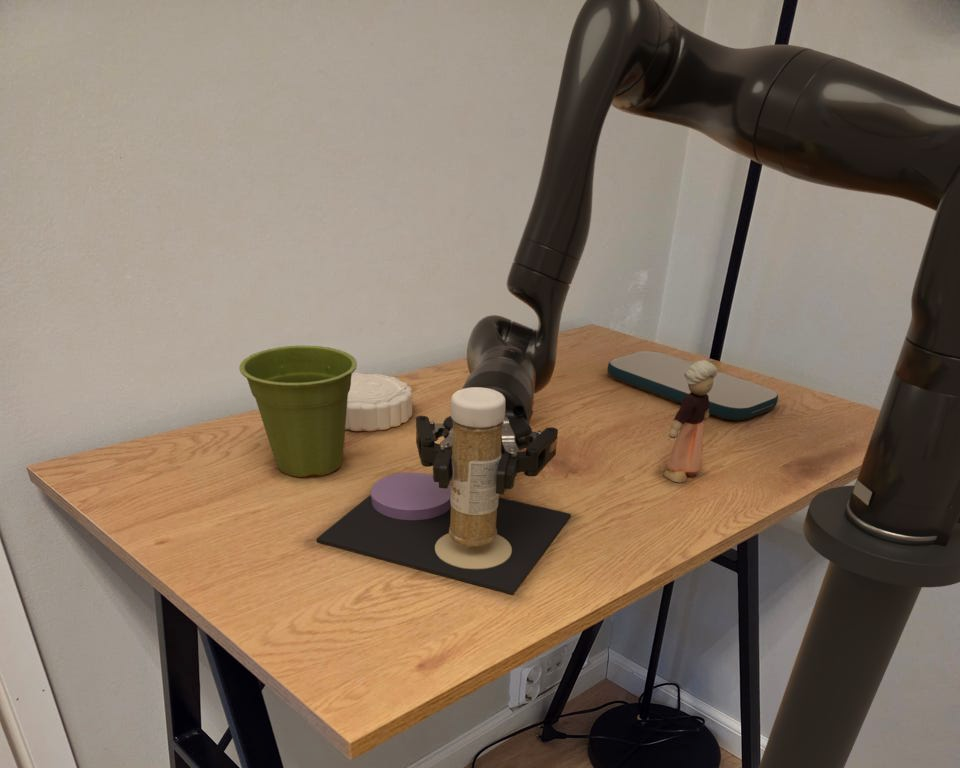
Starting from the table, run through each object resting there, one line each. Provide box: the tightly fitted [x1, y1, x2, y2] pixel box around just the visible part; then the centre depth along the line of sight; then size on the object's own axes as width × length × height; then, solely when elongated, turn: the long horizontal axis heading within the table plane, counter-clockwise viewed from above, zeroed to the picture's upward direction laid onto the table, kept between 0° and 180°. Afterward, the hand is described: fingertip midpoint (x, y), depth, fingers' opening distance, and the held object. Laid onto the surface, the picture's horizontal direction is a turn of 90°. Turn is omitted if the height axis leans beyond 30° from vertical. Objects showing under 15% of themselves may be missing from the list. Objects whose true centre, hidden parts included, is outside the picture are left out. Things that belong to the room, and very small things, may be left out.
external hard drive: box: [607, 350, 779, 421], centre depth 113 cm, size 24×12×2 cm, turn 42°
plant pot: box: [239, 345, 358, 478], centre depth 87 cm, size 12×12×11 cm
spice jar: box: [449, 387, 505, 546], centre depth 72 cm, size 5×5×14 cm
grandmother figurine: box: [663, 359, 718, 484], centre depth 89 cm, size 8×4×13 cm, turn 151°
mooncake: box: [345, 372, 413, 433], centre depth 102 cm, size 12×12×4 cm
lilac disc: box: [370, 472, 451, 520], centre depth 83 cm, size 8×8×1 cm
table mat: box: [315, 494, 572, 596], centre depth 80 cm, size 20×16×1 cm
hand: (471, 480), depth 69 cm, fingers closed on spice jar, 4 cm apart
